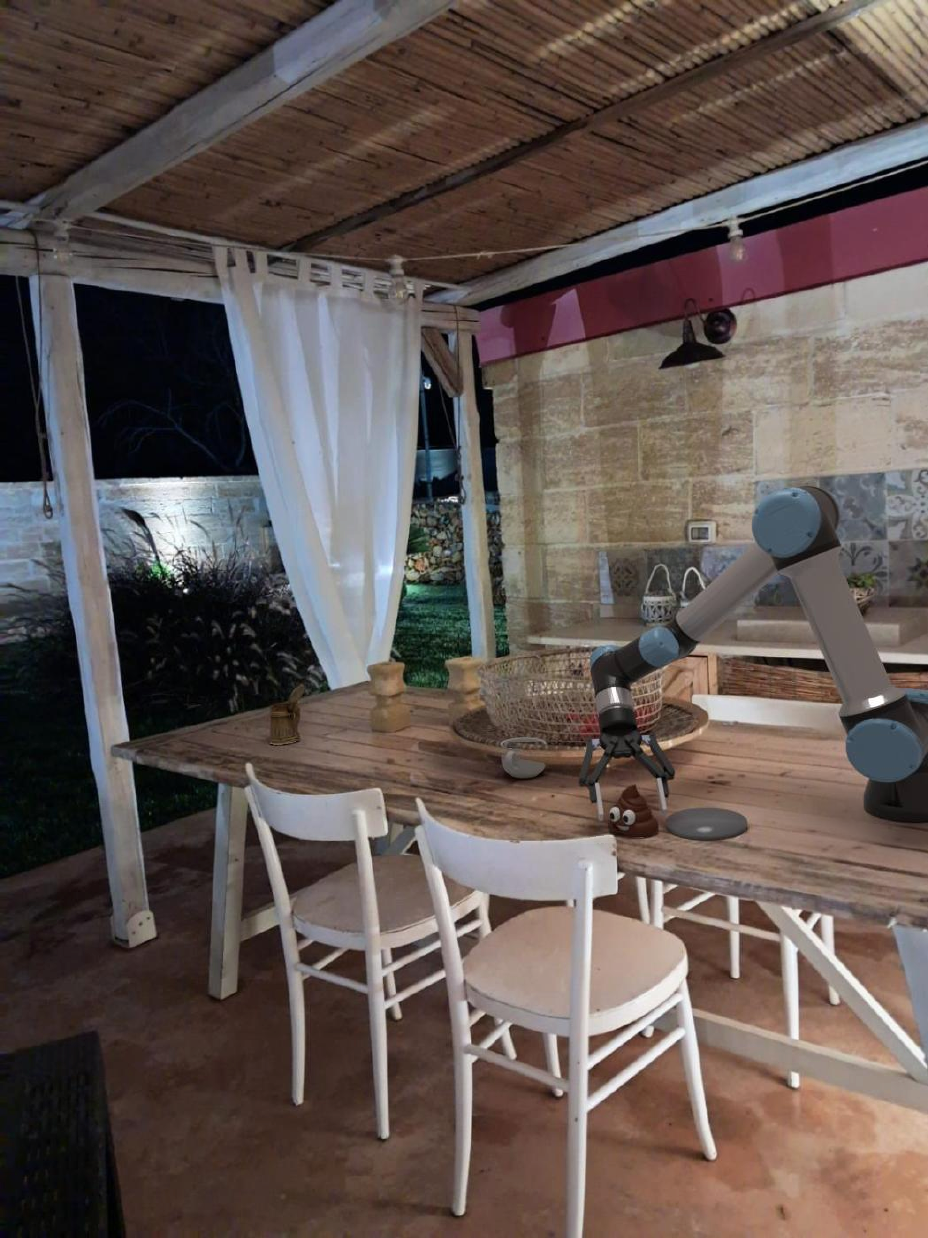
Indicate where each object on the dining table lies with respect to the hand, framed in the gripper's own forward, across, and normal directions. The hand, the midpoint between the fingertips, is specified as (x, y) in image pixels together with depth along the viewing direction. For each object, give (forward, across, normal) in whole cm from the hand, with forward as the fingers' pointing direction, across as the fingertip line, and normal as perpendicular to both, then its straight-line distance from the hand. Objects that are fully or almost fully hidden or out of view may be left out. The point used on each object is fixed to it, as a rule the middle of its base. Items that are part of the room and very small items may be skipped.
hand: (632, 815), depth 173 cm
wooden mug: (-65, +87, -71) cm, 129 cm away
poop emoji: (+1, 0, -6) cm, 6 cm away
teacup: (-28, +20, -34) cm, 48 cm away
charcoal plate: (+1, -14, -5) cm, 15 cm away
